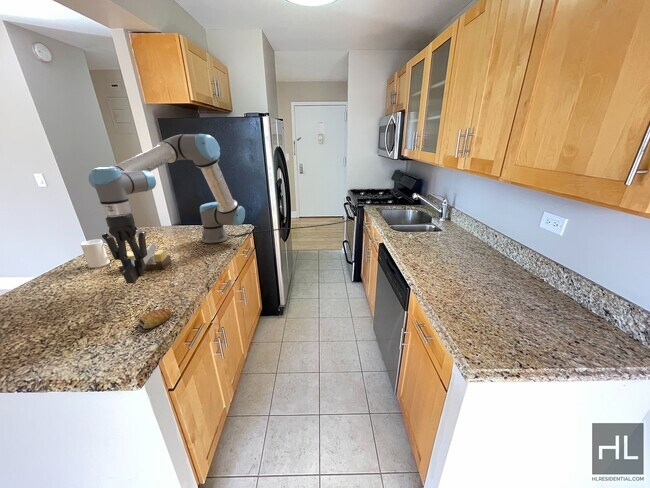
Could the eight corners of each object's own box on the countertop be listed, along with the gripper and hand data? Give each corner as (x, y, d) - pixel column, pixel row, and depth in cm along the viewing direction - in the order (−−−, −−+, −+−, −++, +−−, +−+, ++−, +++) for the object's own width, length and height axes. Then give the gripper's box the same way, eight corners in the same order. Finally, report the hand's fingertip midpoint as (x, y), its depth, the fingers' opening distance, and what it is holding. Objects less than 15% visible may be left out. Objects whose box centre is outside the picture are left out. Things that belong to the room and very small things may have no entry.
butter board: (171, 260, 134) (170, 255, 133) (163, 269, 125) (161, 263, 124) (131, 262, 132) (129, 257, 130) (120, 272, 122) (118, 266, 121)
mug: (120, 259, 135) (113, 237, 131) (111, 266, 128) (103, 244, 123) (94, 261, 133) (86, 239, 129) (83, 268, 126) (75, 245, 121)
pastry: (166, 310, 94) (164, 301, 93) (176, 317, 91) (173, 308, 89) (137, 324, 87) (134, 315, 86) (146, 332, 84) (144, 322, 82)
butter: (150, 257, 130) (148, 250, 129) (144, 262, 125) (142, 255, 123) (128, 259, 129) (126, 251, 127) (121, 264, 123) (119, 256, 122)
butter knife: (159, 248, 113) (155, 238, 110) (134, 283, 93) (129, 272, 91) (152, 249, 112) (149, 239, 110) (127, 283, 93) (121, 272, 90)
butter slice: (166, 256, 131) (165, 249, 130) (162, 261, 126) (160, 254, 124) (160, 257, 131) (158, 249, 129) (155, 262, 125) (153, 254, 124)
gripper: (85, 218, 84) (107, 281, 92) (137, 216, 86) (154, 278, 95) (100, 212, 91) (119, 272, 99) (148, 211, 93) (163, 269, 102)
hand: (136, 275), depth 97 cm, fingers closed on butter knife, 2 cm apart
